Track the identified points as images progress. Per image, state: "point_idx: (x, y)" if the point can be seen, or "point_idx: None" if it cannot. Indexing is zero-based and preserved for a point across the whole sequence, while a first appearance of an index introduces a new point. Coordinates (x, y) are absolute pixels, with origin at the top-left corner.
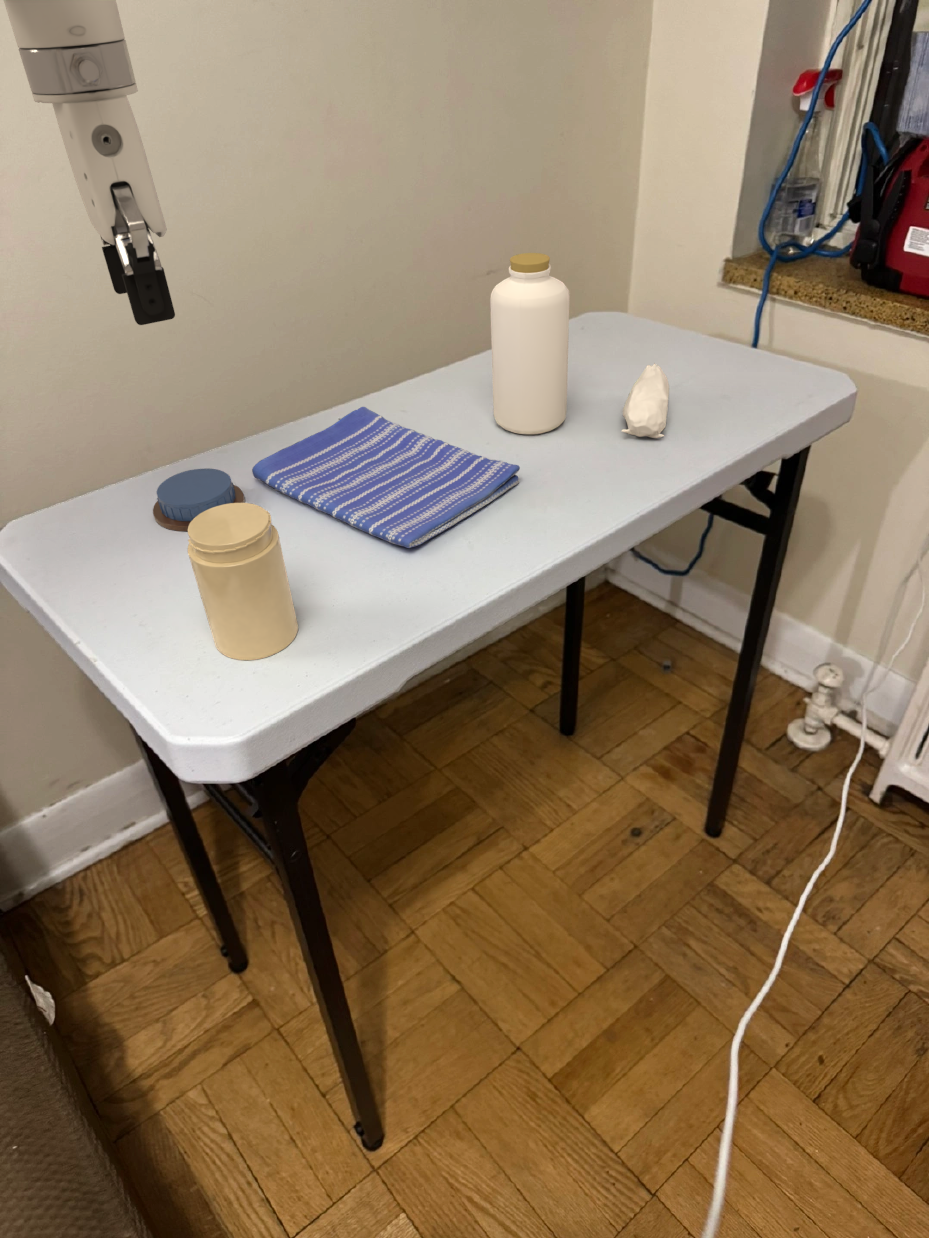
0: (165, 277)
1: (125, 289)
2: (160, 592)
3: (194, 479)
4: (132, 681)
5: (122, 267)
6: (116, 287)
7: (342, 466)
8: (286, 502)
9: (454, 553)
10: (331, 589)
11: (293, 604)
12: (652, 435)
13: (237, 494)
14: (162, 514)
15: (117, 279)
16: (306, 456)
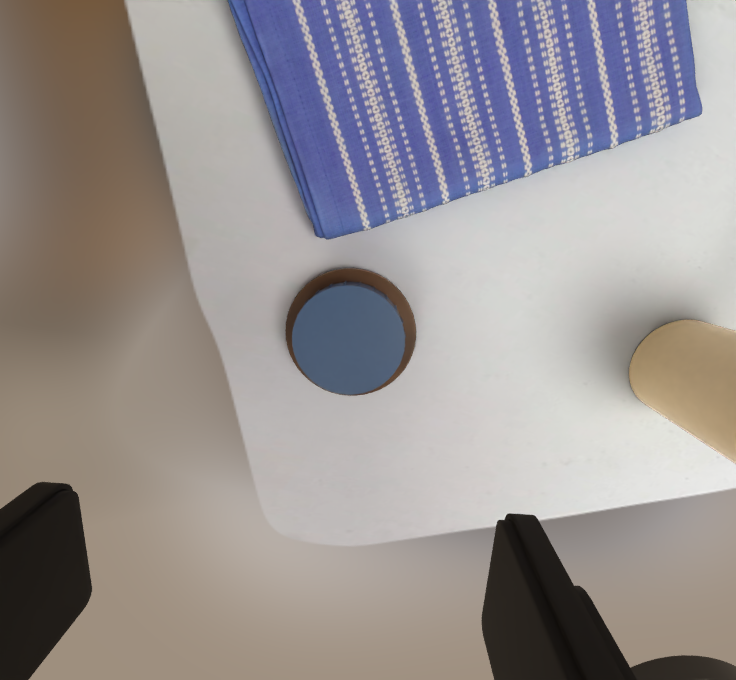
0: (616, 669)
1: (82, 579)
2: (519, 430)
3: (328, 335)
4: (653, 493)
5: (2, 653)
6: (75, 616)
7: (392, 89)
8: (413, 217)
9: (727, 49)
10: (666, 254)
11: (731, 329)
12: None
13: (361, 278)
14: None
15: (50, 635)
16: (330, 135)
